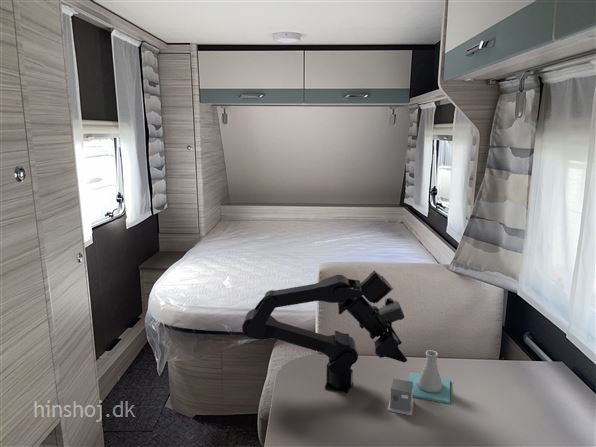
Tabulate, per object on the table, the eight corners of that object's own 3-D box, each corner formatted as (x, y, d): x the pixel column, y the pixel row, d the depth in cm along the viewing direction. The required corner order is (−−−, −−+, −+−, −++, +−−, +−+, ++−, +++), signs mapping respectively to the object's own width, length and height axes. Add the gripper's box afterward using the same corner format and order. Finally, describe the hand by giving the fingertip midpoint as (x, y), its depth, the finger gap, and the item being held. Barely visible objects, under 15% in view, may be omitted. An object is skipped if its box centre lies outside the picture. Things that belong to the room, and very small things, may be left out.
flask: (442, 380, 125) (445, 348, 123) (443, 395, 118) (446, 361, 116) (416, 376, 127) (418, 344, 125) (415, 391, 120) (417, 357, 118)
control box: (387, 410, 113) (388, 389, 112) (390, 397, 119) (391, 377, 117) (411, 415, 111) (413, 394, 110) (413, 401, 117) (415, 381, 115)
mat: (406, 395, 119) (406, 393, 119) (409, 374, 129) (410, 372, 129) (449, 403, 116) (449, 401, 116) (449, 380, 126) (449, 379, 126)
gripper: (392, 308, 108) (434, 351, 110) (382, 281, 126) (419, 318, 128) (358, 336, 110) (399, 378, 112) (353, 306, 128) (389, 342, 130)
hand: (403, 352), depth 121 cm, fingers open, 9 cm apart
